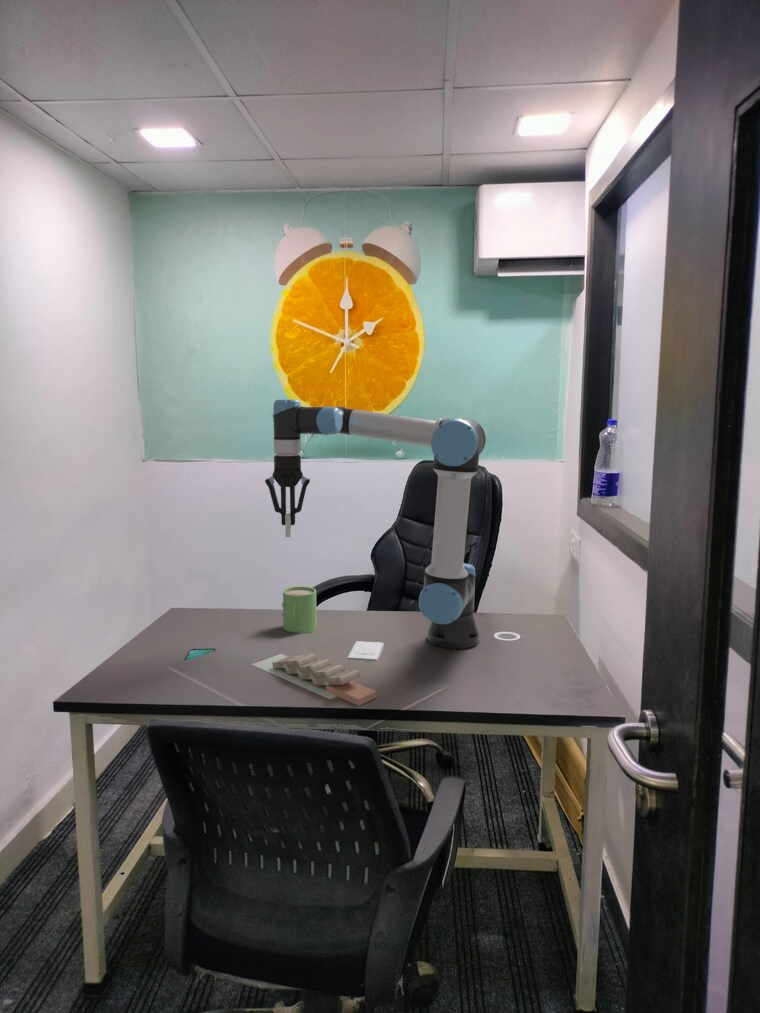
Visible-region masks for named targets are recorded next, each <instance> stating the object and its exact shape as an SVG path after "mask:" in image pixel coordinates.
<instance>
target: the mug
mask: <svg viewBox="0 0 760 1013" xmlns="http://www.w3.org/2000/svg"><path fill="white" fill-rule="evenodd" d="M281 607H282V614H281V615H282V616H283V617H282V618H283V620H282V622H283V623H282V625H283V628H282V629H283V630H284V631H287V632H288V633H289V632H290V633H301V634H305V633H308V634H311V633H314V632H315V631H317V629H316V628H317V624H318V623H317V622H318V620H317V589H316V588H315V587H311V586H304V585H303V586H299V585H298V586H290V587H288V588H284V589H283V590H282V604H281ZM313 631H314V632H313ZM310 632H311V633H310ZM305 635H306V634H305Z"/></svg>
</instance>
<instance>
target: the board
mask: <svg viewBox="0 0 760 1013" xmlns="http://www.w3.org/2000/svg"><path fill="white" fill-rule="evenodd" d="M286 657H289V656H287V655H285V654H283V653H280V654H277V655H275V656H271V657H269V658H265V659H263V660H260V661H258V662H253V663H251V665H252V666H253V667H256V668H258V669H260V670H263V671H265V672H268V673H270V674H271V675H274V676H276V677H279V678H281V679H284V680H285V681H288V682H290V683H292V684H294V685H297V686H299V687H302V688H304V689H306V690H308V691H310V692H313V693H315V694H317V695H319V696H321V697H323V698H326V699H328V700H333V699H335V698H338V696H335V695H333V694H331V693H329V692H326V685H315V686H313V683H312V679H304V680H299V677H298V673H295V674H286V672H285V668H276V669H273V664H272V662H275V661H278V660H281V659H283V658H286Z"/></svg>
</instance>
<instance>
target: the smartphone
mask: <svg viewBox="0 0 760 1013" xmlns="http://www.w3.org/2000/svg"><path fill="white" fill-rule="evenodd" d="M215 650H217V649H216V648H192V649H190V650H189V651H188V653H187V654H186V657H184V658H185V659H184V661H188V660H191V659H193V658H194V659H195V658H197V657H201V656H204V655H207V654H210V653H213V652H216V651H215Z"/></svg>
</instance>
